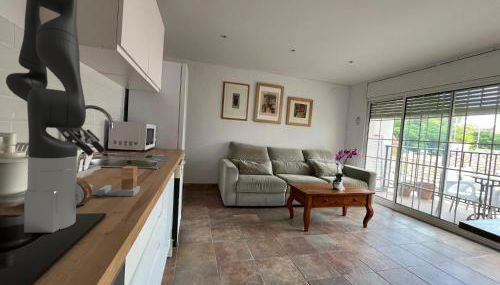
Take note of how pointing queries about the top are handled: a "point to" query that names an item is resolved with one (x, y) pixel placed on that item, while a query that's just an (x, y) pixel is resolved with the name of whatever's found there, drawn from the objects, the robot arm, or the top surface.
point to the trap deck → (114, 191)
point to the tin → (82, 192)
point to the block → (129, 177)
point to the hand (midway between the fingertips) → (97, 152)
